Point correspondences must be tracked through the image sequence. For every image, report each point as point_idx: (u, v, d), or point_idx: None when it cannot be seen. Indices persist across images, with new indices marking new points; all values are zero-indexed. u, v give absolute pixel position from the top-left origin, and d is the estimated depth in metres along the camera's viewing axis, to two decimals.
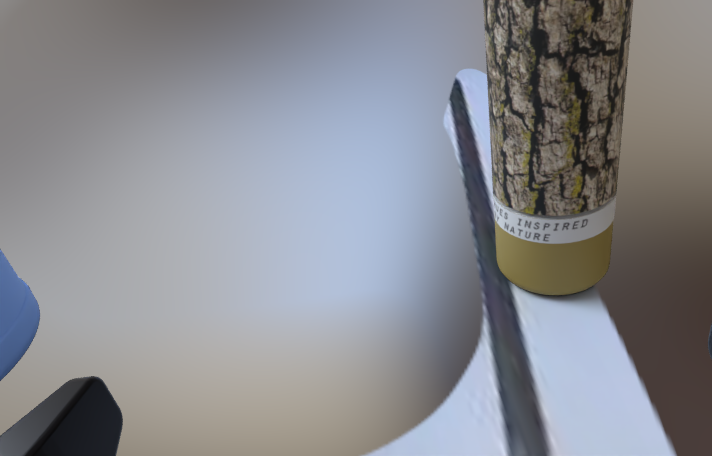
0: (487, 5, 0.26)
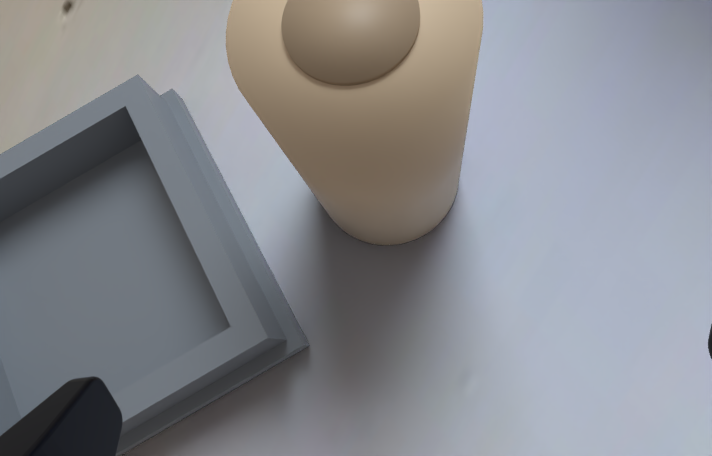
0: None
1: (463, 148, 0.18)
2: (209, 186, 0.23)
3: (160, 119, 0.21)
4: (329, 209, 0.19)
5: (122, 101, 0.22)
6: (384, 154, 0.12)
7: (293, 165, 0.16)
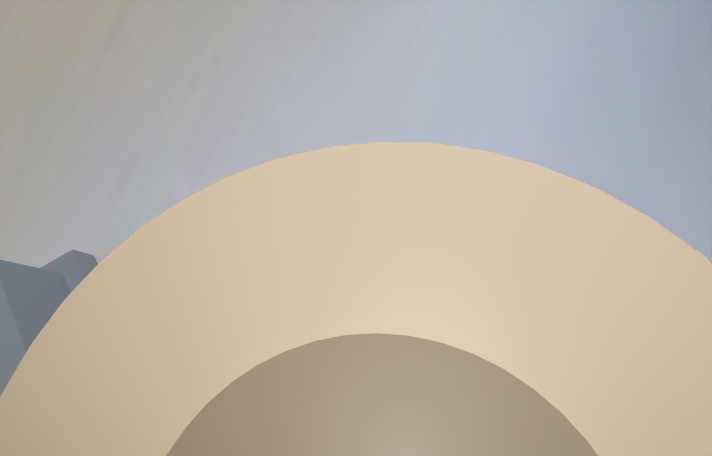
0: None
1: None
2: None
3: (26, 345, 0.12)
4: None
5: None
6: None
7: None
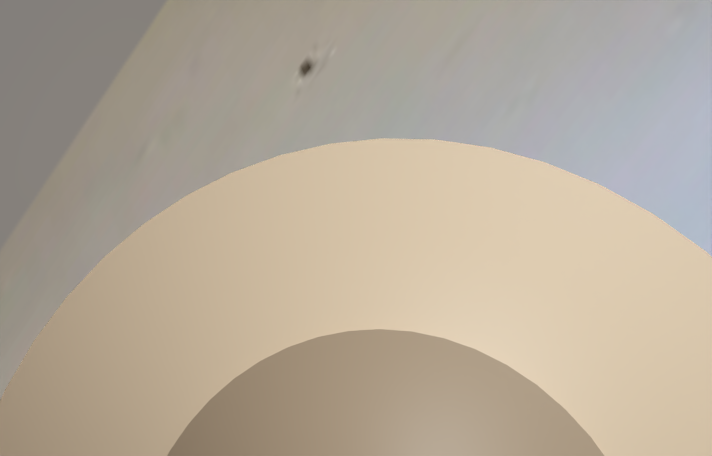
0: None
1: None
2: None
3: None
4: None
5: None
6: None
7: None
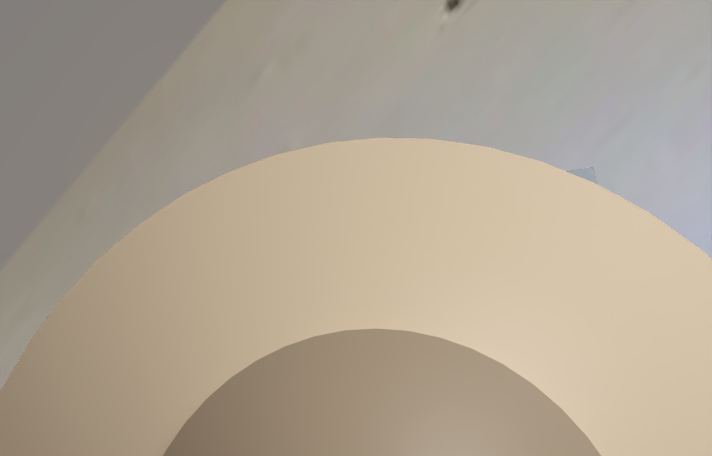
0: None
1: None
2: None
3: None
4: None
5: None
6: None
7: None
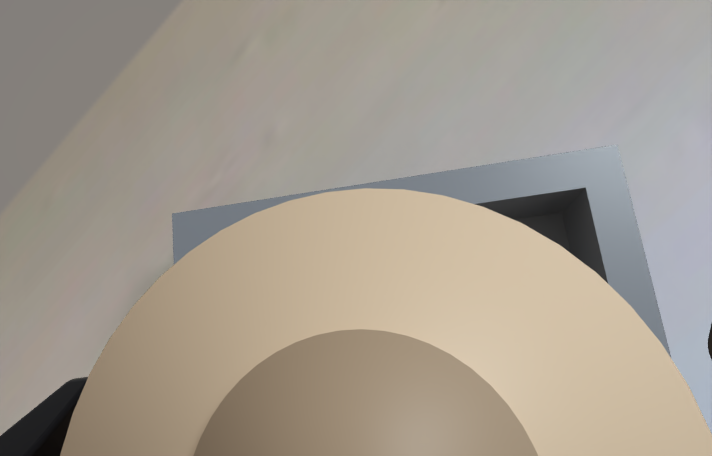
0: None
1: None
2: None
3: (637, 231, 0.13)
4: None
5: (582, 178, 0.14)
6: None
7: None
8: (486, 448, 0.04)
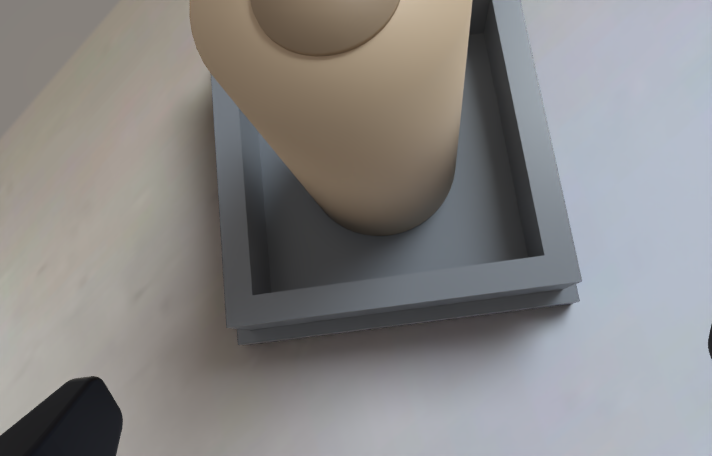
0: None
1: (458, 129, 0.16)
2: None
3: (524, 21, 0.20)
4: (316, 198, 0.18)
5: None
6: (366, 132, 0.11)
7: None
8: None
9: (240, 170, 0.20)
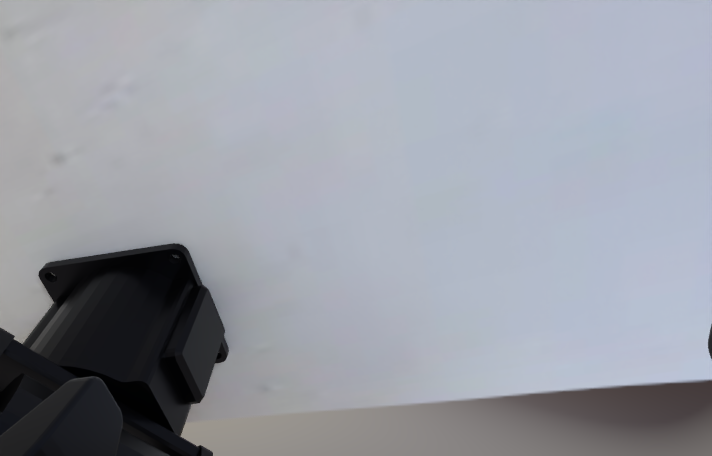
0: None
1: None
2: None
3: None
4: None
5: None
6: None
7: None
8: None
9: None
